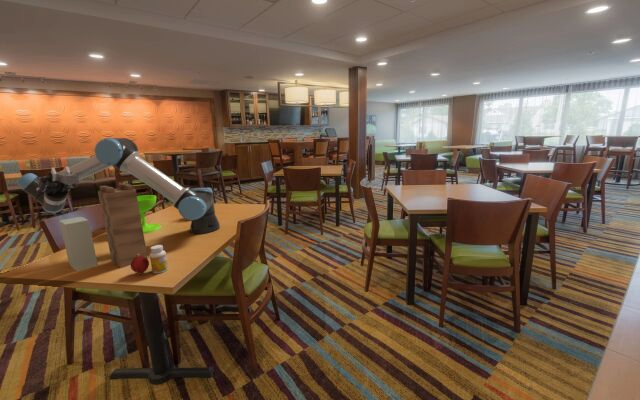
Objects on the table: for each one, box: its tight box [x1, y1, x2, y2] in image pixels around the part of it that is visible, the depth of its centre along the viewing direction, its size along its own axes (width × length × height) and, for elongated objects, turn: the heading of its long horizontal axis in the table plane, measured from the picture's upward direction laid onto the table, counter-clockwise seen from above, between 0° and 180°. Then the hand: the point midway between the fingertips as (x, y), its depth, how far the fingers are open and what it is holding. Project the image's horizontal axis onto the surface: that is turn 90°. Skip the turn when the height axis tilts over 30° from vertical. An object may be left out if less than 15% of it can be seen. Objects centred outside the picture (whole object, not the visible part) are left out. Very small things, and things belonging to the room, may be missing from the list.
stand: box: [97, 182, 149, 268], centre depth 119 cm, size 10×10×32 cm
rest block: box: [58, 216, 99, 272], centre depth 118 cm, size 10×7×19 cm
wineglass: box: [137, 194, 162, 234], centre depth 162 cm, size 16×16×18 cm
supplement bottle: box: [149, 244, 169, 274], centre depth 111 cm, size 5×5×10 cm
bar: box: [55, 171, 80, 184], centre depth 113 cm, size 22×4×3 cm, turn 51°
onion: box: [130, 254, 150, 275], centre depth 110 cm, size 6×6×8 cm
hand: (61, 170), depth 114 cm, fingers closed on bar, 3 cm apart
